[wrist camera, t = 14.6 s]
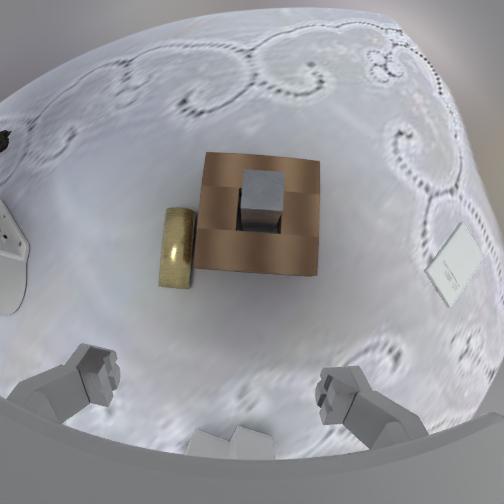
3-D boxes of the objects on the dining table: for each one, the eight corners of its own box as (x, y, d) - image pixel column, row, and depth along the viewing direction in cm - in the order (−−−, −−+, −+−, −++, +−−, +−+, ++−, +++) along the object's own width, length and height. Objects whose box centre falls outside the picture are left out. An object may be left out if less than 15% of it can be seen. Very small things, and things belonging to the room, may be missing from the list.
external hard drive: (479, 258, 40) (445, 307, 39) (457, 223, 40) (422, 271, 39) (484, 257, 38) (451, 308, 37) (463, 221, 39) (427, 270, 38)
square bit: (242, 231, 39) (240, 208, 27) (244, 202, 39) (243, 169, 27) (271, 233, 39) (282, 211, 27) (273, 204, 39) (284, 172, 27)
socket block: (198, 268, 38) (193, 266, 34) (209, 164, 40) (206, 152, 36) (310, 276, 38) (317, 275, 34) (313, 172, 40) (319, 161, 36)
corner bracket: (271, 436, 36) (280, 483, 24) (242, 484, 35) (241, 532, 23) (203, 411, 36) (189, 455, 24) (179, 462, 35) (162, 508, 23)
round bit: (181, 287, 39) (193, 289, 36) (154, 285, 36) (164, 287, 33) (188, 216, 40) (200, 211, 37) (162, 211, 38) (172, 205, 34)
